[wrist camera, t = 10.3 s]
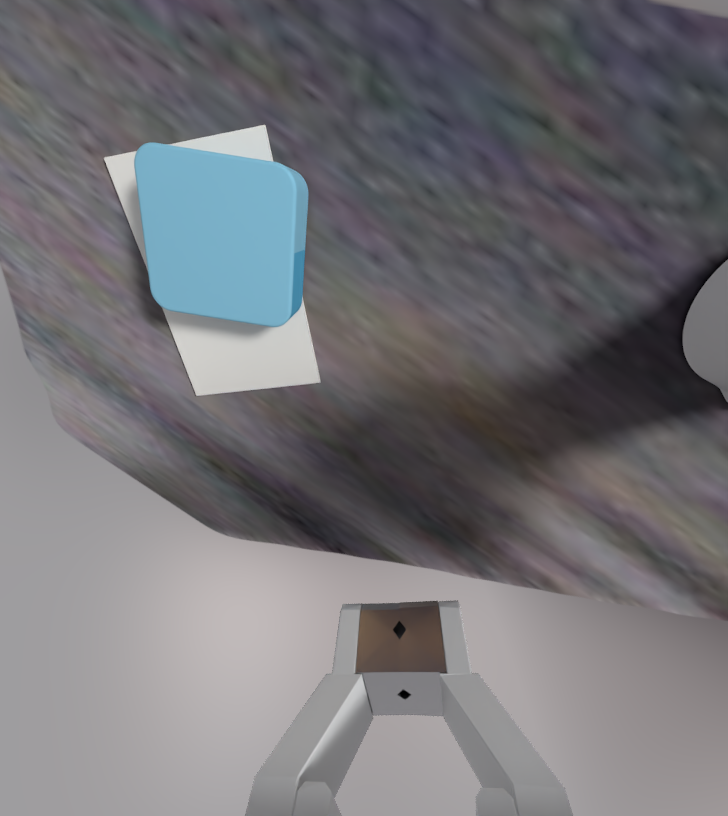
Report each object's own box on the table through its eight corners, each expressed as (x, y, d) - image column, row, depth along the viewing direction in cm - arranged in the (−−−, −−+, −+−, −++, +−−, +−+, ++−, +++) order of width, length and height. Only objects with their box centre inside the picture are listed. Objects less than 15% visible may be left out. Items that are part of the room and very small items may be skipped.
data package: (310, 172, 30) (164, 148, 30) (297, 165, 26) (128, 138, 26) (301, 318, 35) (178, 298, 35) (289, 330, 31) (151, 308, 31)
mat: (265, 125, 29) (264, 124, 28) (320, 381, 39) (320, 382, 38) (106, 158, 30) (103, 157, 30) (197, 394, 40) (196, 395, 40)
